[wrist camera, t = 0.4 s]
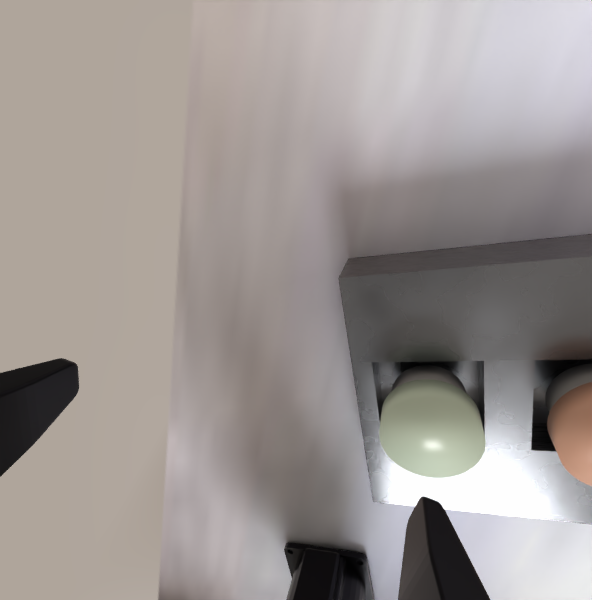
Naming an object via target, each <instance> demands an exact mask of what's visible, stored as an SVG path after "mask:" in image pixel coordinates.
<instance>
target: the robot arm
mask: <svg viewBox="0 0 592 600" xmlns="http://www.w3.org/2000/svg"><path fill="white" fill-rule="evenodd" d="M78 389H79V378H78V366H77V364H76V363H74V362H71V361H68V360H66V359H62V358H61V359H55V360H52V361H47V362H44V363H40V364H35V365H31V366H27V367H23V368H19V369H15V370H11V371H7V372H3V373H0V476H2V475H3V473H5V472H6V471H7V470H8V469H9V468H10V467H11V466H12V465H13V464H14V463H15V462H16V461H17V460H18V459H19V458H20V457H21V456H22V455H23V454H24V453H25V452H26V451H27V450H28V449H29V448H30V447H31V446H32V445H33V444H34V443H35V442H36V441H37V440H38V439H39V438H40V437H41V435H42V434H43V433H44V432H45V431H46V430H47V429H48V427H49V426H50V425H51V424H52V423H53V422H54V421H55V419H56V418H57V417H58V416H59V415H60V413H61V412H62V411H63V410H64V409H65V408H66V407H67V406H68V404H69V403H70V402H71V401H72V400H73V399H74V397H75V396H76V394H77V393H78ZM284 551H285V555H286V558H287V562H288V565H289V569H290V573H291V576H292V581H291V585H290V589H289V592H288V596H287V600H374V595H373V590H372V584H371V578H370V572H369V566H368V561H367V557H366V556H365V555H364V554H362V553H357V552H350V551H344V550H337V549H330V548H323V547H316V546H309V545H303V544H296V543H287V544H286V546H285V549H284ZM398 600H490V598H489V596H488V594H487V592H486V590H485V588H484V586H483V584H482V582H481V580H480V578H479V577H478V575H477V573H476V571H475V569H474V567H473V565H472V563H471V561H470V559H469V557H468V555H467V553H466V551H465V549H464V547H463V545H462V543H461V541H460V539H459V537H458V535H457V533H456V531H455V529H454V527H453V525H452V523H451V522H450V520H449V518H448V516H447V514H446V512H445V510H444V508H443V506H442V504H441V503H440V502H438V501H436V500H433V499H431V498H428V497H425V496H422V497H421V498H420V499H419V501H418V502H417V504H416V506H415V508H414V510H413V512H412V514H411V516H410V518H409V520H408V524H407V529H406V537H405V545H404V554H403V562H402V570H401V579H400V587H399V597H398Z"/></svg>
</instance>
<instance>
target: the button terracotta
mask: <svg viewBox="0 0 592 600" xmlns="http://www.w3.org/2000/svg"><path fill="white" fill-rule="evenodd" d="M545 401H546V405H547V408H548V410H549V415H548V419H547V429H548V433H549V435H550V438H551V440H552V442H553V445H554V447H555V449H556V452H557V454H558V456H559V458H560V461H561V463H562V464H563V466H564V467H565V469H566V470H567V471H568V472H569V473H570V474H571V475H572V476H574V477H575V478H576V479H578V480H579V481H581V482H583V483H585V484H587V485H590V486H592V364H583V365H579V366H575V367H572V368H570V369H568V370H565V371H564V372H562V373H560V374H559V375H558V376H557V377H555V378H554V379H553V380H552V382H551V383H550V384H549V386H548V388H547V391H546V396H545Z"/></svg>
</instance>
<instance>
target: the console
mask: <svg viewBox="0 0 592 600" xmlns="http://www.w3.org/2000/svg"><path fill="white" fill-rule="evenodd" d="M339 284H340V290H341V297H342V303H343V310H344V316H345V323H346V329H347V336H348V342H349V349H350V355H351V362H352V368H353V375H354V381H355V388H356V394H357V401H358V407H359V414H360V420H361V427H362V433H363V440H364V446H365V453H366V459H367V466H368V472H369V479H370V485H371V492H372V498H373V502H377V503H387V504H397V505H407V506H416V504H417V502H418V501H419V499H420V498H421V497H422V496H425V497H428V498H431V499H433V500H436V501H438V502H440V503H441V504H442V506H443V508H444V509H446V510H455V511H465V512H475V513H485V514H494V515H504V516H514V517H524V518H533V519H543V520H553V521H563V522H572V523H582V524H592V486H590V485H587V484H585V483H583V482H581V481H579V480H578V479H576V478H575V477H574V476H572V475H571V474H570V473H569V472H568V471H567V470H566V469H565V467H564V466H563V464H562V463H561V461H560V458H559V456H558V454H557V452H556V449H555V447H554V445H553V442H552V440H551V438H550V435H549V433H548V429H547V419H548V415H549V410H548V408H547V405H546V401H545V396H546V391H547V388H548V386H549V384H550V383H551V382H552V380H553V379H554V378H555V377H557V376H558V375H559V374H560V373H562V372H564V371H565V370H568V369H570V368H572V367H575V366H579V365H583V364H592V234H588V235H578V236H568V237H558V238H548V239H539V240H529V241H519V242H509V243H499V244H489V245H479V246H470V247H460V248H450V249H440V250H430V251H420V252H410V253H401V254H391V255H381V256H371V257H361V258H351V259H348V261H347V263H346V265H345V267H344V269H343V271H342V272H341V274H340V276H339ZM421 365H432V366H437V367H441V368H444V369H446V370H448V371H450V372H451V373H453V374H454V375H456V376H457V377H458V378H459V379H460V381H461V382H462V384H463V385H464V387H465V391H466V393H467V394H468V395H469V396H470V397H471V398H472V399H473V401H474V402H475V404H476V405H477V408H478V410H479V413H480V417H481V421H482V426H483V430H484V434H485V441H486V444H485V451H484V454H483V456H482V458H481V459H480V461H479V462H478V463H477V464H476V465H475V466H474V467H473V468H471V469H470V470H468V471H466V472H465V473H462V474H460V475H456V476H453V477H447V478H431V477H425V476H420V475H417V474H414V473H411V472H409V471H407V470H405V469H403V468H402V467H400V466H399V465H397V464H396V463H395V462H393V461H392V460H391V459H390V458H389V457H388V455H387V454H386V453H385V451H384V449H383V447H382V445H381V442H380V438H379V430H380V421H381V413H382V406H383V403H384V401H385V399H386V397H387V396H388V395H389V394H390V392H391V391H392V387H393V384H394V382H395V380H396V379H397V377H398V376H399V375H400V374H401V373H403V372H404V371H406V370H407V369H410V368H412V367H416V366H421Z"/></svg>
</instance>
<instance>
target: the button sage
mask: <svg viewBox="0 0 592 600" xmlns="http://www.w3.org/2000/svg"><path fill="white" fill-rule="evenodd" d="M379 438H380V442H381V445H382V447H383V449H384V451H385V453H386V454H387V455H388V457H389V458H390V459H391V460H392V461H393V462H395V463H396V464H397V465H399V466H400V467H402V468H403V469H405V470H407V471H409V472H411V473H414V474H417V475H420V476H425V477H431V478H447V477H453V476H456V475H460V474H462V473H465V472H466V471H468V470H470V469H471V468H473V467H474V466H475V465H476V464H477V463H478V462H479V461H480V459H481V458H482V456H483V454H484V451H485V444H486V441H485V434H484V430H483V426H482V421H481V417H480V413H479V410H478V408H477V405H476V404H475V402H474V401H473V399H472V398H471V397H470V396H469V395H468V394H467V393H466V391H465V387H464V385H463V384H462V382H461V381H460V379H459V378H458V377H457V376H456V375H454V374H453V373H451V372H450V371H448V370H446V369H444V368H441V367H437V366H432V365H421V366H416V367H412V368H410V369H407V370H406V371H404V372H403V373H401V374H400V375H399V376H398V377H397V379H396V380H395V382H394V384H393V387H392V391H391V392H390V394H389V395H388V396H387V397H386V399H385V401H384V403H383V406H382V413H381V421H380V430H379Z"/></svg>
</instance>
